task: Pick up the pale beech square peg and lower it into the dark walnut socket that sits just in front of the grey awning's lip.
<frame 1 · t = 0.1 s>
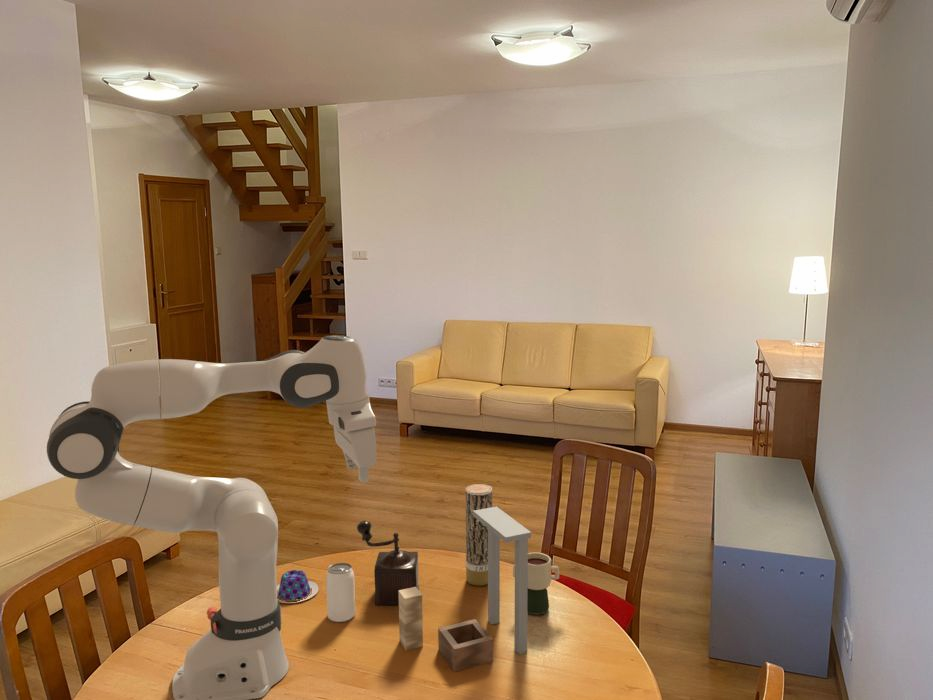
hand: (358, 474, 148), 39 cm above the table, tool pointing down, fingers open, 8 cm apart
can: (341, 616, 166), on the table
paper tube: (479, 581, 182), on the table
awning: (500, 637, 156), on the table
peg: (411, 643, 154), on the table
character mug: (535, 610, 168), on the table
manual coffee grinder: (387, 595, 175), on the table
pudding: (294, 594, 177), on the table
socket: (465, 655, 149), on the table
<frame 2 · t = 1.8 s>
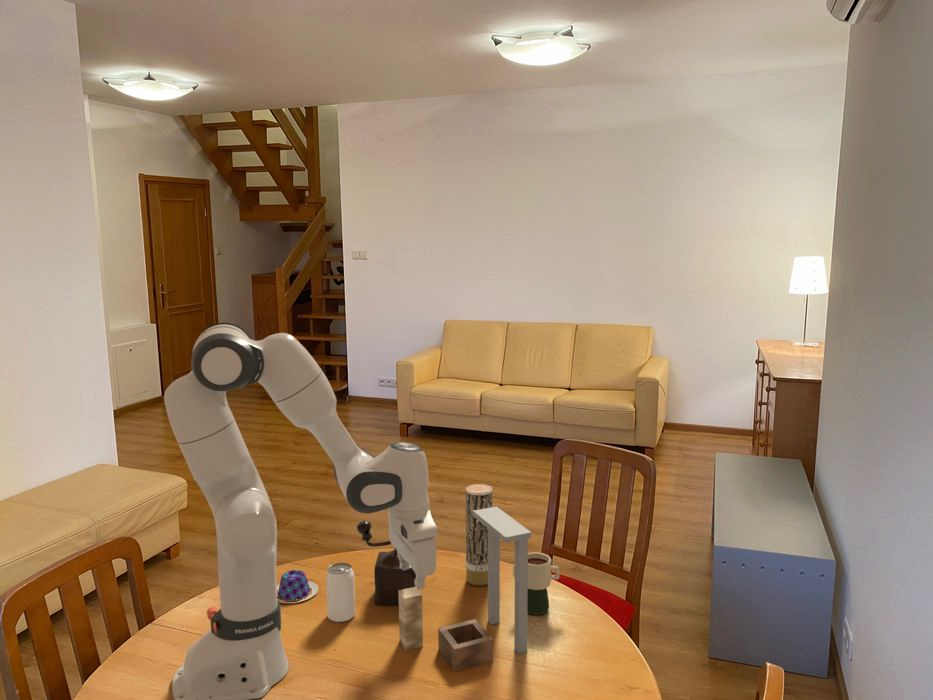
hand: (412, 577, 152), 15 cm above the table, tool pointing down, fingers open, 8 cm apart
nothing on the table moved.
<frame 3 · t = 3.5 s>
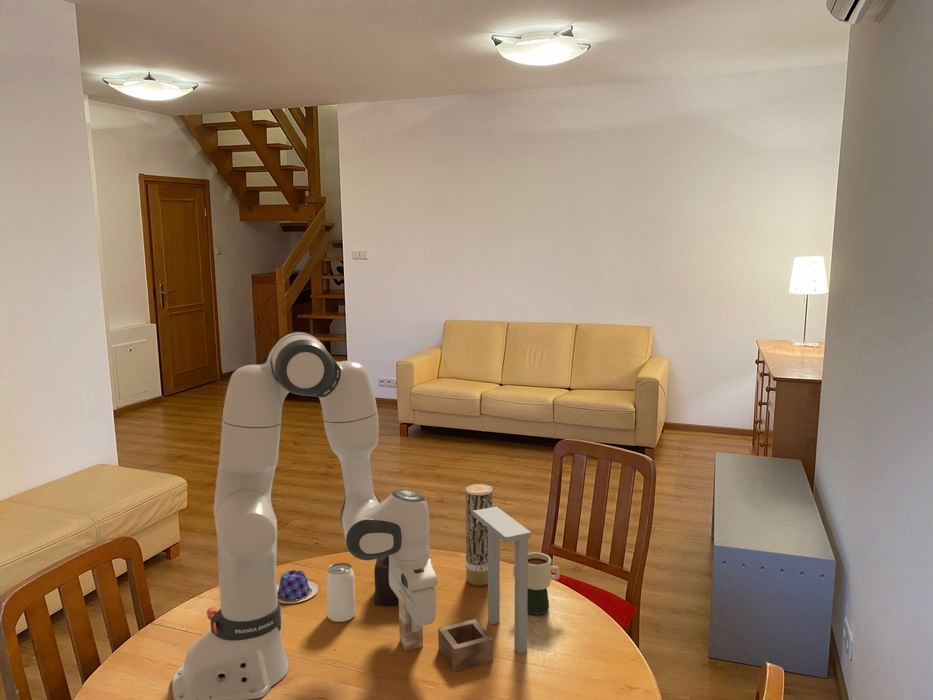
hand: (410, 624, 153), 5 cm above the table, tool pointing down, fingers closed on peg, 4 cm apart
peg: (411, 643, 154), on the table, touching gripper
everything else where it was.
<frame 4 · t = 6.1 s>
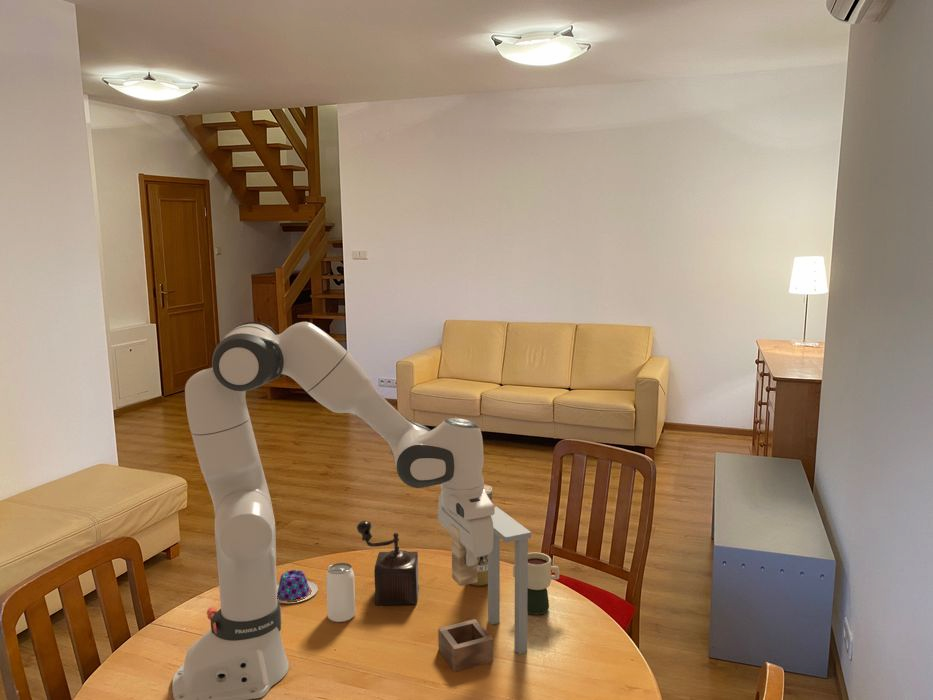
hand: (464, 559, 146), 22 cm above the table, tool pointing down, fingers closed on peg, 4 cm apart
peg: (464, 579, 147), point 17 cm above the table, touching gripper
everything else where it was.
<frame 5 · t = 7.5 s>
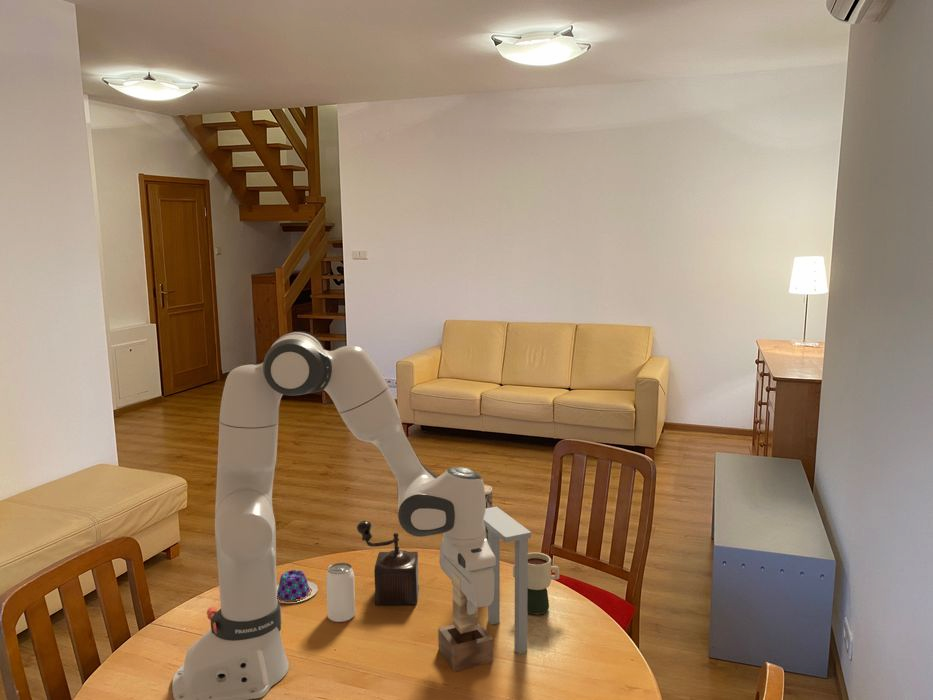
hand: (464, 606, 148), 11 cm above the table, tool pointing down, fingers closed on peg, 4 cm apart
peg: (465, 626, 148), point 6 cm above the table, touching gripper
everything else where it was.
when the fingers open (7 cm above the table, at t = 8.8 s): peg drops 2 cm, resting in socket.
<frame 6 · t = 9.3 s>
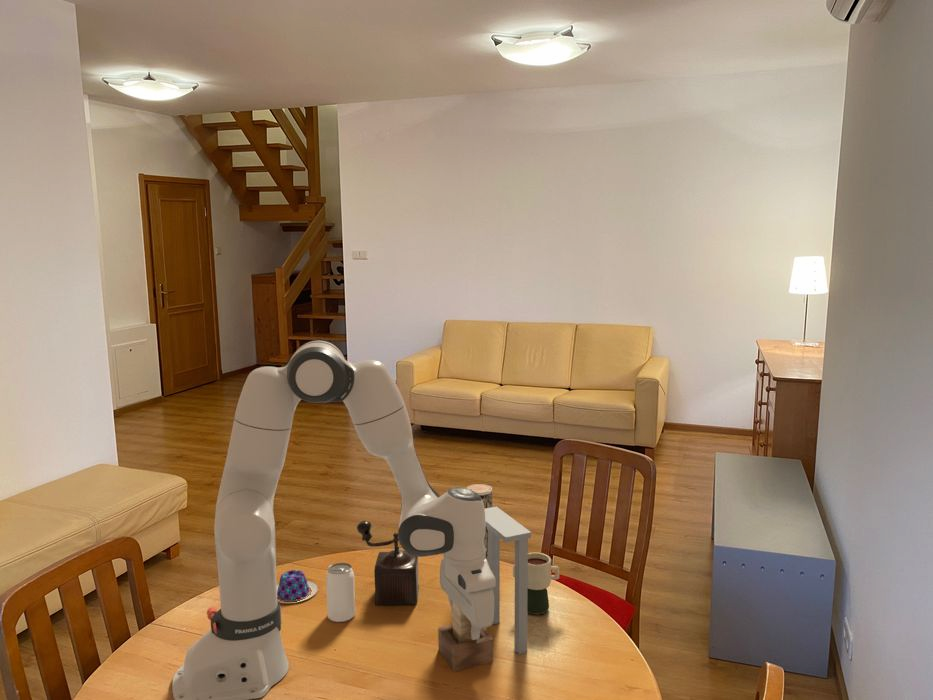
hand: (465, 626, 148), 7 cm above the table, tool pointing down, fingers open, 8 cm apart
peg: (465, 655, 149), resting in socket
everything else where it was.
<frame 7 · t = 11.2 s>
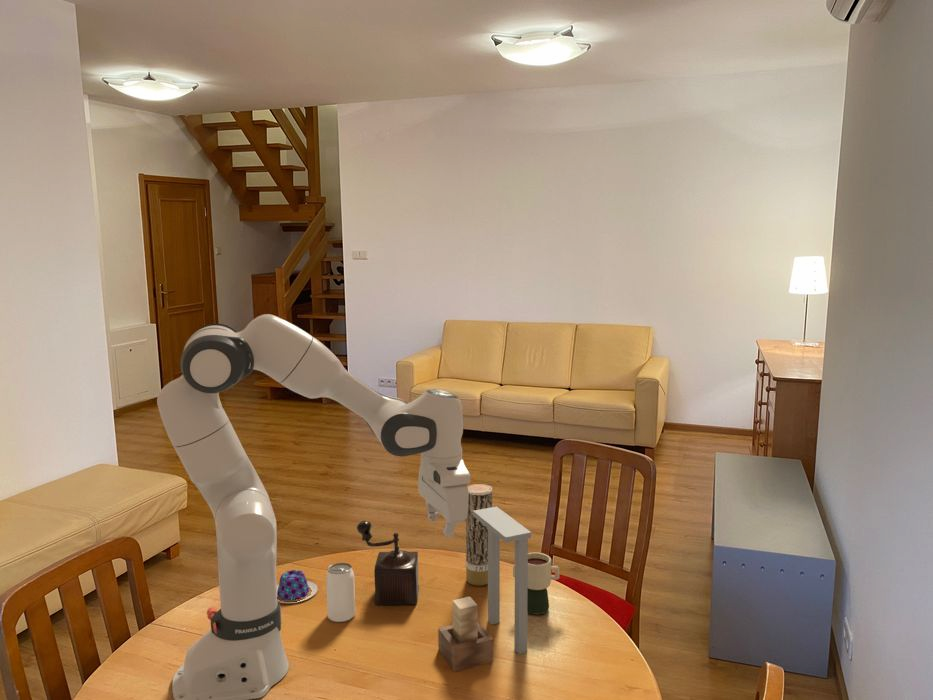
hand: (440, 527, 150), 27 cm above the table, tool pointing down, fingers open, 8 cm apart
nothing on the table moved.
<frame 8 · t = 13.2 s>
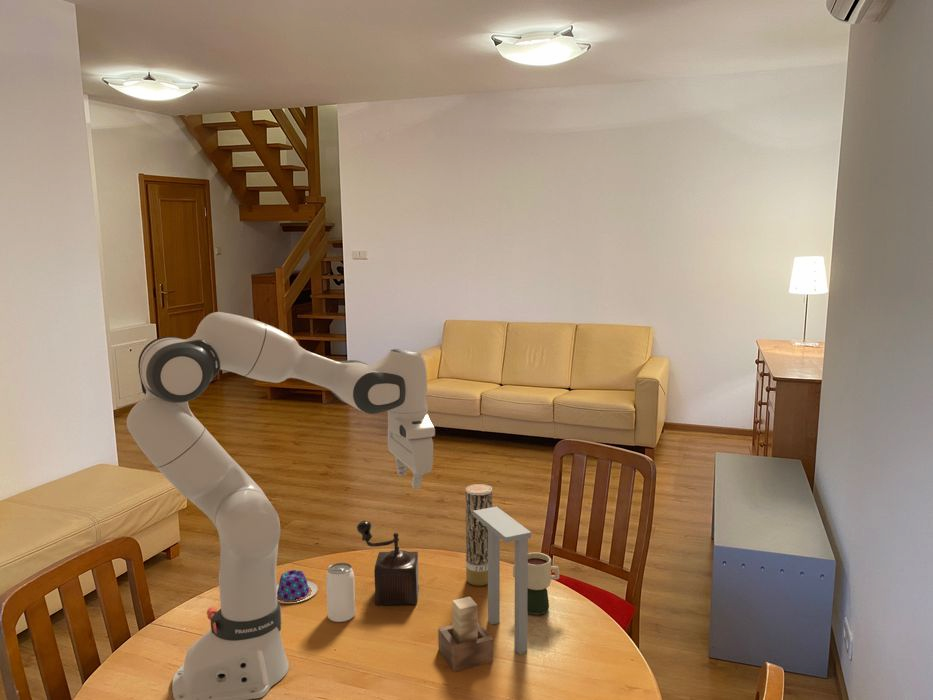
hand: (409, 481, 157), 34 cm above the table, tool pointing down, fingers open, 8 cm apart
nothing on the table moved.
at the end: peg 0.0 cm off-centre on the socket, point 0.0 cm above the socket's base; peg tilted 0°; the gripper is holding nothing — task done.
